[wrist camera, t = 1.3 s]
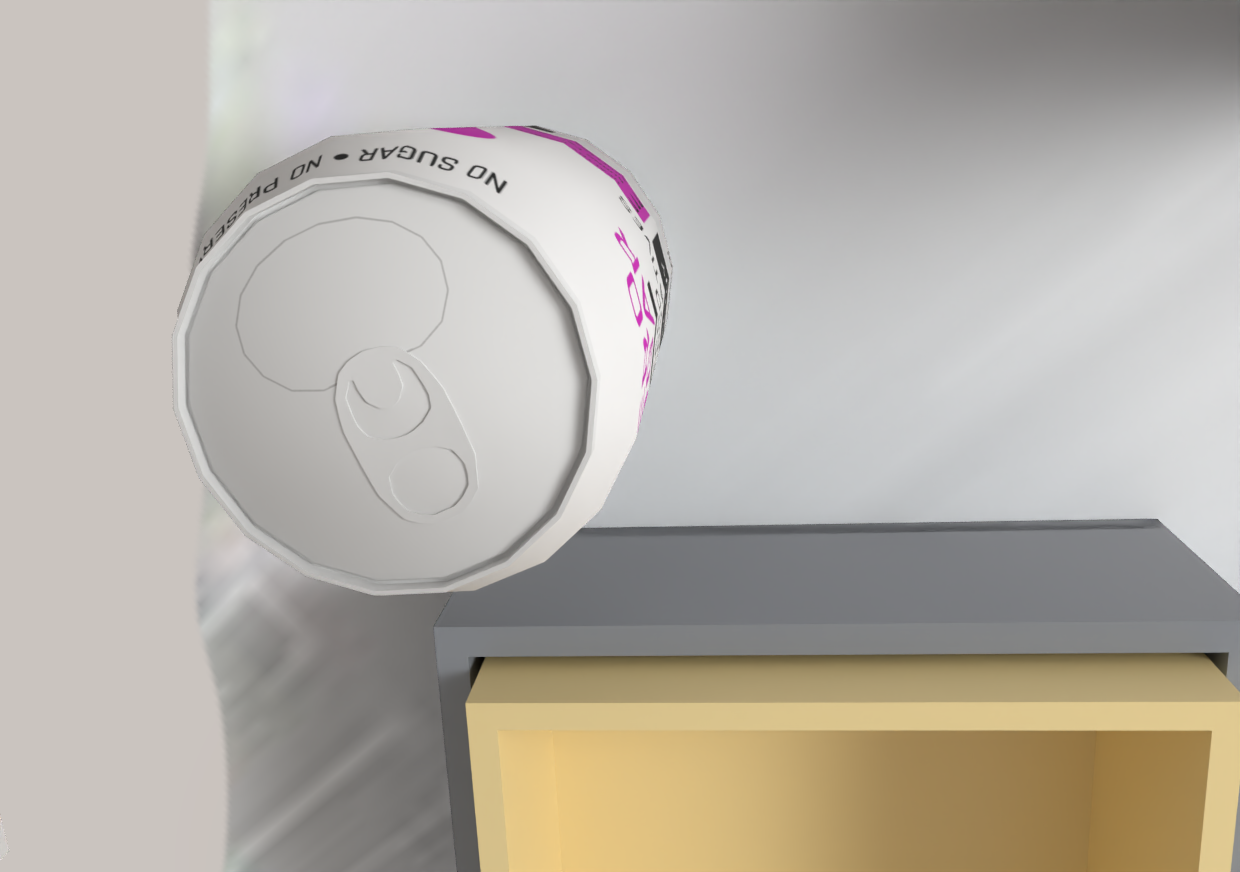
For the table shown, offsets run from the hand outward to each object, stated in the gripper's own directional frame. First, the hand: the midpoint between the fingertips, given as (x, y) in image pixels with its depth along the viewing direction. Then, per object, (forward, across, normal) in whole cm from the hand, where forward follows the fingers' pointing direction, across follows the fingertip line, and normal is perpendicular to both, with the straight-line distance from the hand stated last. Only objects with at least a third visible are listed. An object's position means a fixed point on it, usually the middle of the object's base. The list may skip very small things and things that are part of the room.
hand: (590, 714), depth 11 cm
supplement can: (+23, -4, +2) cm, 23 cm away
